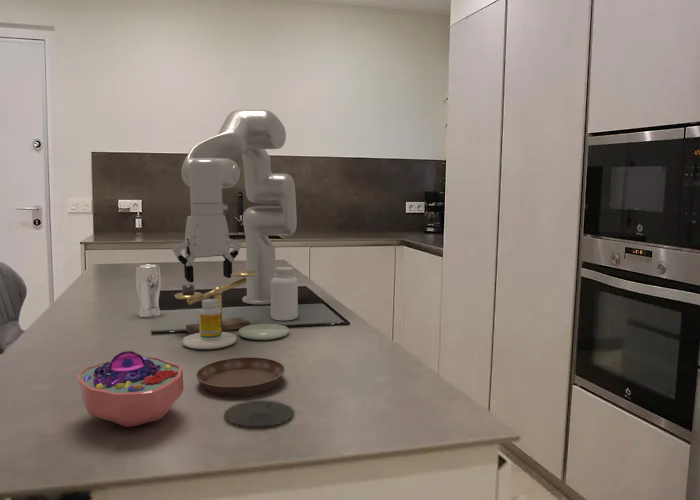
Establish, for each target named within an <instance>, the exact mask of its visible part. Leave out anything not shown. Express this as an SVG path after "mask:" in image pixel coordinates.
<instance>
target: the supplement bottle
mask: <svg viewBox="0 0 700 500" xmlns="http://www.w3.org/2000/svg"><path fill="white" fill-rule="evenodd" d="M218 305H219V303H218V300H217V299H214V298H206V299H204V300H201V307H202V308H201V309H200V310H199V313H198V315H199V317H198V319H199V320H198V321H199V323H200V338H201V339H202V340H209V341H211V340H217V339H220V338H221V337H222V332H223V331H222V327H221V309H220V308H218V307H217V306H218Z"/></svg>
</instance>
